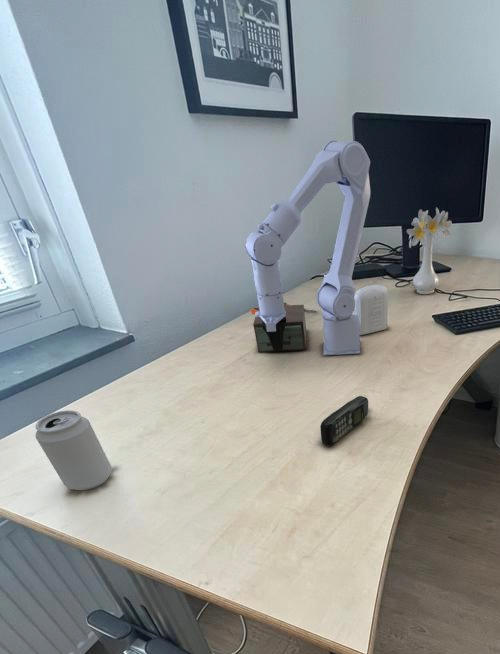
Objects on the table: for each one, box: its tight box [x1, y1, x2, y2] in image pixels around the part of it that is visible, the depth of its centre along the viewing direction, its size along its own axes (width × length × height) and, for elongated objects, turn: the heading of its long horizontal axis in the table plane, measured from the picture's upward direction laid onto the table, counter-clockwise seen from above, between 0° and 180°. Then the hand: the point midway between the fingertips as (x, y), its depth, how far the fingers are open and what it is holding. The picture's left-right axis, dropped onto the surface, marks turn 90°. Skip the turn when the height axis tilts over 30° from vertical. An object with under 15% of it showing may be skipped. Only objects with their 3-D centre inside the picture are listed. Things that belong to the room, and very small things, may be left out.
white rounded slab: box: [353, 284, 389, 336], centre depth 122 cm, size 10×4×12 cm, turn 123°
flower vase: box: [406, 206, 453, 295], centre depth 145 cm, size 13×18×25 cm
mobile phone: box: [319, 395, 369, 447], centre depth 84 cm, size 5×3×15 cm
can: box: [34, 409, 113, 491], centre depth 71 cm, size 8×8×12 cm
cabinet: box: [252, 304, 308, 353], centre depth 118 cm, size 14×13×8 cm
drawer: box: [256, 325, 303, 351], centre depth 115 cm, size 17×11×6 cm
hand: (278, 349), depth 107 cm, fingers closed
